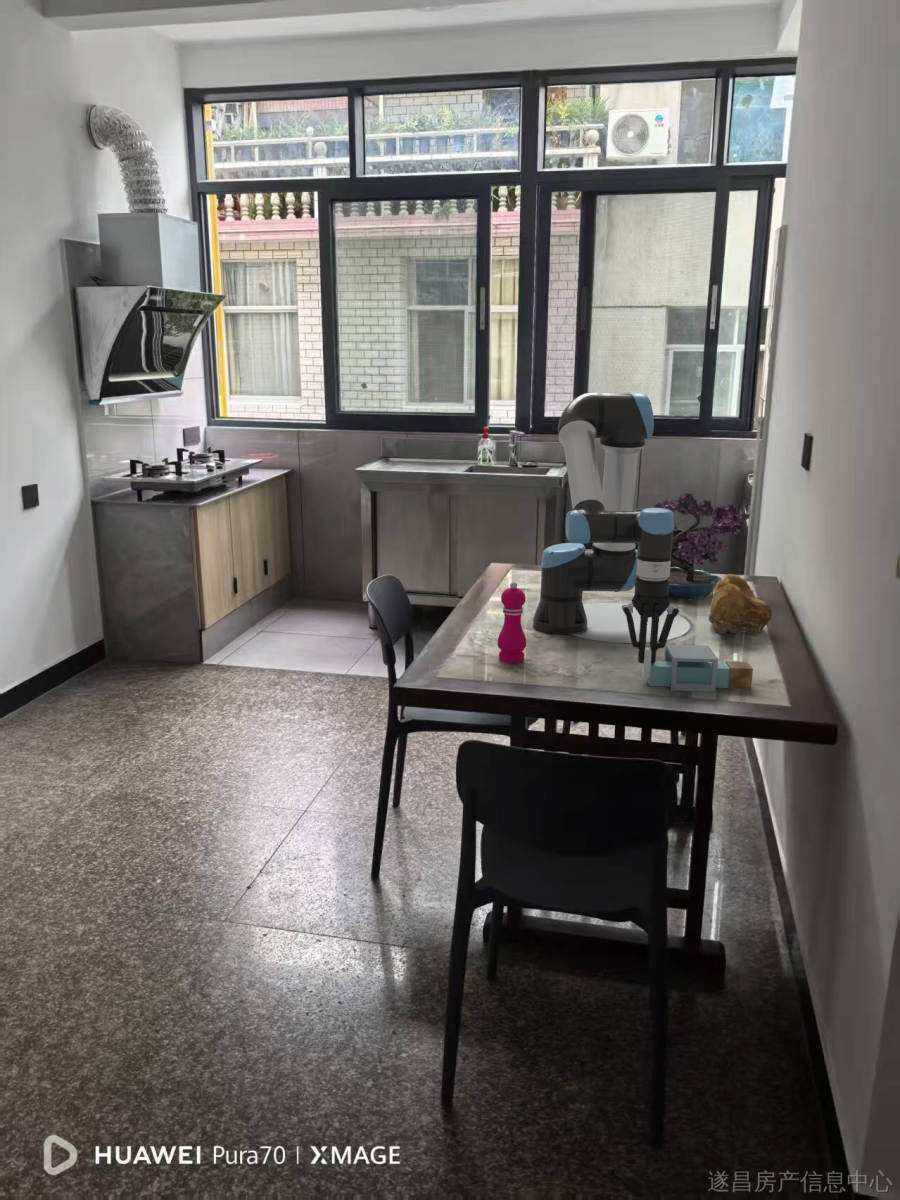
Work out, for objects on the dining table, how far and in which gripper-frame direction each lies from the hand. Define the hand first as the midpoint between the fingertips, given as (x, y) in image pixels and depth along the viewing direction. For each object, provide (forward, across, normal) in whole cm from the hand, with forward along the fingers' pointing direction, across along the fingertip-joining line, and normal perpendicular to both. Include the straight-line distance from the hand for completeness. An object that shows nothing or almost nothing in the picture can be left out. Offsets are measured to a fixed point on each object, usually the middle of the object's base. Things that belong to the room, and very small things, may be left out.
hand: (645, 675), depth 213 cm
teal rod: (+2, +10, 0) cm, 10 cm away
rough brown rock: (+2, +33, +46) cm, 57 cm away
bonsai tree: (+2, +27, +88) cm, 92 cm away
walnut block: (+2, +21, 0) cm, 21 cm away
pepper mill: (+2, -31, +14) cm, 34 cm away
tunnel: (+2, +10, 0) cm, 10 cm away
